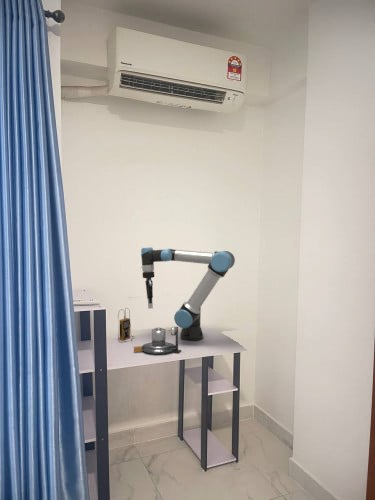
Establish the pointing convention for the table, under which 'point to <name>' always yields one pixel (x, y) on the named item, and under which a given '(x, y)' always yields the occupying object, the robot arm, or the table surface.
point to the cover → (158, 339)
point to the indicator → (175, 332)
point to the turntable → (146, 349)
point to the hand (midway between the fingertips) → (150, 308)
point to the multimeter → (125, 327)
